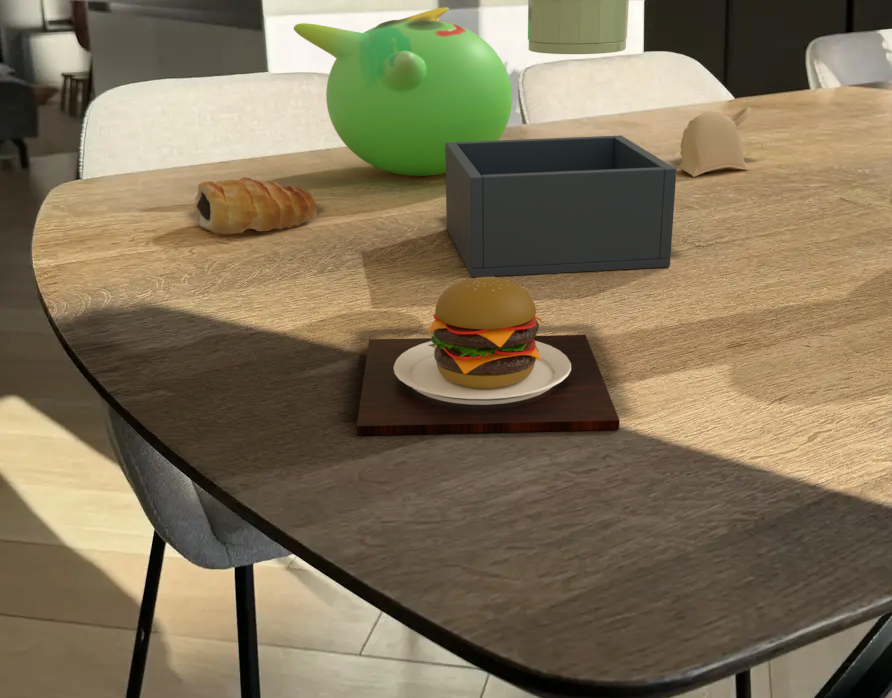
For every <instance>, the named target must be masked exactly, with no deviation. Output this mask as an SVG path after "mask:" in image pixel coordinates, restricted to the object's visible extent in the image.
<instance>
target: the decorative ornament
mask: <svg viewBox="0 0 892 698" xmlns="http://www.w3.org/2000/svg"><path fill="white" fill-rule="evenodd" d="M751 112H752V111H751V108H750V107H744V108H742V109H740V110H739V111H737V112H736V113H735V114H734V115H733V116H732V117H730V116H728V115H727V114H726V113H725V114H724V113H723V112H719V111H708V112H704V113H701V114H699V115H696V116H695V117H694V118H692V119H691V120H689V121H688V124H687V126H686V127H685V128H684V129H683V132H682V138H681V142H680V153H679V154H680V156H681V162H680V164H677V167H678V169H681V170H683V171H684V172H686V173H688V174H689V175H691V176H692V177H693V178H695V177H697V176H699V175H702V174H705V173H707V172H709V173H711V172H717V171H721V170H725V169H730V168H732V169H733V168H735V169H737V168H739V169H743V170H750V168H749V166H748V165H747V163H746V162H745V156H744V147H743V140H742V136H741V133H740V130H739V126H740V125H741V124H742V123H743V122H744V121H745V120H746V119H747V118H748V116H749V115H750V114H751Z"/></svg>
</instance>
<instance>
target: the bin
mask: <svg viewBox="0 0 892 698" xmlns="http://www.w3.org/2000/svg"><path fill="white" fill-rule="evenodd" d="M445 163H446V173H445V205H446V206H445V208H446V210H445V211H446V216H445V217H446V231H447V232H448V234H449V235H450V239H451V240H452V242H453V244H454V246H455V248H456V250H457V251H458V253H459V256H460V257H461V260H462V261H463V263H464V265H465V267H466V269H467V271H468V273H469V275H470V277H471V278H478V277H510V276H527V275H528V276H529V275H548V274H564V273H583V272H603V271H621V270H639V269H640V270H641V269H642V270H643V269H661V268H670V267H671V256H672V243H673V241H672V240H673V229H674V228H673V227H674V226H673V225H674V213H675V212H674V211H675V197H676V185H677V184H676V182H677V181H676V180H677V168H675V167H674V166H672V165H671V164H669V163H667V161H664V160H662V159H660V157H658V156H656V155H654V154H653V153H651V152H649V151H648V150H646V149H644V148H643V147H641V146H640V145H638V144H637V143H635V142H633V141H631V140H629V139H628V138H627V137H625V136H624V135H599V136H597V135H596V136H575V137H574V136H572V137H550V138H549V137H547V138H526V139H525V138H523V139H521V138H520V139H499V140H495V141H470V142H456V143H455V142H446V143H445Z"/></svg>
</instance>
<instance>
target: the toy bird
mask: <svg viewBox="0 0 892 698" xmlns="http://www.w3.org/2000/svg"><path fill="white" fill-rule="evenodd" d="M448 10H450V8H449V7H448V6H447V7H446V6H445V7H438V8H433V9H430V10H426V11H423V12H420V13H416V14H414V15H411V16H407V17H405V18H400V19H391V20H388V21H384V22H381V23H379V24H377V25H376V26H374V27H372V28H369V29H368V30H366V31H364V32H360V31H353V30H348V29H342V28H338V27H332V26H327V25H322V24H315V23H307V22H304V23H303V22H302V23H301V22H300V23H297V24H295V25H294V26H293V30H294V32H295V33H296V34H297V35H298V36H299V37H301V38H303V39H304V40H305V41H307V42H309V43H310V44H313V45H314V46H316V47H317V48H319V49H320V50H322V51H323V52H325V53H328V54H329V55H331V56H332V57H333V58H334V59H335V60H334V62H333V64H332V66H331V69H330V72H329V75H328V79H327V83H326V91H325V93H326V95H325V96H326V97H325V99H326V108H327V113H328V116H329V119H330V121H331V124H332V126H333V128H334V130H335V132H336V133H337V136H338V137H339V138H340V140H341V141H342V143H343V144H344V145H345V146H346V147H347V148H348V149H349V150H350V151H351V152H352V153H353V154H354V155H356V156H357V157H358V158H359V159H361V160H362V161H364V162H365V163H367V164H369V165H371V166H373V167H375V168H378V169H379V170H382V171H384V172H387V173H390V174H391V173H392V174H396V175H400V176H408V177H409V176H411V177H428V176H429V177H430V176H438V175H444V174H446V163H445V143H446V142H455V143H456V142H470V141H495V140H501V137H502V136H503V134H504V133H505V130H506V128H507V125H508V123H509V120H510V117H511V112H512V106H513V90H512V84H511V80H510V76H509V74H508V71H507V69H506V66H505V63H504V62H503V61H502V59H501V57H500V56H499V54H498V53H497V52H496V50H494V48H493V47H492V46H491V45H490V44H489V43H488V42H487V41H486V40H485V39H483V38H482V37H481V36H480V35H478V34H476V33H475V32H473V31H472V30H470V29H468V28H466V27H464V26H461V25H458V24H456V23H453V22H449V21H445V20H440V19H439V18H440V17H441V16H442V15H444V14H445V13H447V12H448Z"/></svg>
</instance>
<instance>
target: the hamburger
mask: <svg viewBox="0 0 892 698" xmlns="http://www.w3.org/2000/svg"><path fill="white" fill-rule="evenodd" d="M536 314H537V308H536V304H535V302H534V300H533V298H532V296H531V295H530V294H529V292H528V291H527V290H525V289H524V288H523V287H521V286H520V285H518V284H516V283H514V282H513V281H510V280H508V279H505V278H501V277H497V276H491V277H471V278H468V279H465V280H462V281H459V282H457V283H454V284H451V286H449V287H448V288H446V289H445V290H444V291H443V292H442V293H441V295H440V296H439V298H438V299H437V302H436V305H435V310H434V314H433V321H432V323H431V324H430V326H429V328H428V331H427V333H428V334H431V333H432V336H431V337H426V338H425V337H423V338H422V337H421V338H419V337H416V338H415V337H413V338H412V337H411V338H377V339H376V338H375V339H374V338H373V339H368V344H367V351H366V359H365V364H364V373H363V380H362V385H361V393H360V401H359V408H358V413H357V421H356V436H388V435H389V436H391V435H392V436H393V435H396V436H397V435H437V434H477V433H479V434H480V433H481V434H483V433H484V434H485V433H522V432H523V433H525V432H565V431H566V432H568V431H569V432H570V431H574V432H575V431H604V430H605V431H612V430H615V431H617V430H620V418H619V415H618V412H617V411H616V408H615V406H614V403H613V400H612V397H611V395H610V393H609V391H608V388H607V385H606V383H605V380H604V378H603V375H602V373H601V370H600V368H599V365H598V363H597V360H596V358H595V355H594V352H593V350H592V348H591V347H592V346H591V344H590V342H589V340H588V338H587V334H559V335H558V334H556V335H555V334H552V335H537V333H538V331H539V327H540V324H541V323H543V320H542V318H540V317H539V316H537V315H536ZM538 321H539V322H540V324H539V322H538Z"/></svg>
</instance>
